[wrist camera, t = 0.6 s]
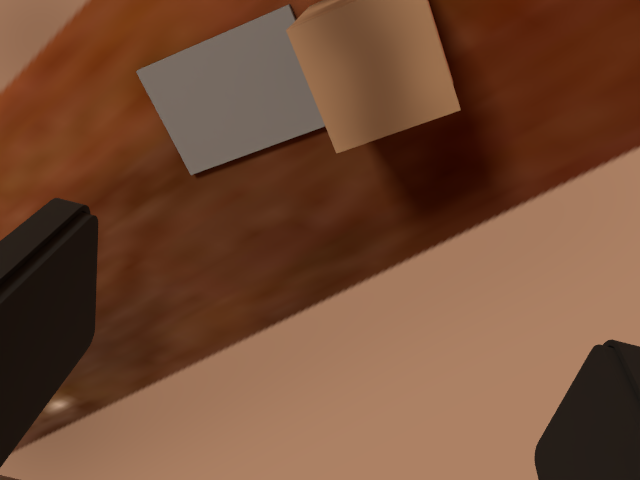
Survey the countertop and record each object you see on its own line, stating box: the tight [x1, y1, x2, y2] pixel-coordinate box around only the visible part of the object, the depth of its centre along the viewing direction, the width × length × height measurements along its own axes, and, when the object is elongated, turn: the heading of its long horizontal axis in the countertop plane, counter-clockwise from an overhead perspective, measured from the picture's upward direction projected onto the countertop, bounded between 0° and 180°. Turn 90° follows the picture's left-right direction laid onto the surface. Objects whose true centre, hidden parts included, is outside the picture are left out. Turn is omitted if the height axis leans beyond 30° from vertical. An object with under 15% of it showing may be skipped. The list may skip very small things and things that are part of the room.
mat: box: [136, 4, 325, 175], centre depth 36 cm, size 10×7×1 cm
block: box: [286, 0, 461, 153], centre depth 30 cm, size 6×6×8 cm
